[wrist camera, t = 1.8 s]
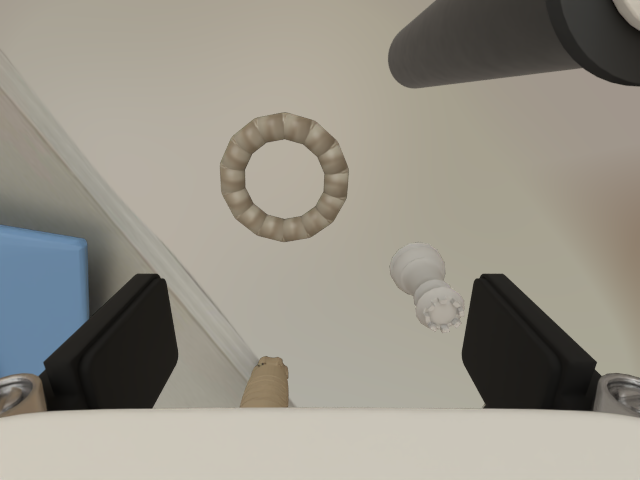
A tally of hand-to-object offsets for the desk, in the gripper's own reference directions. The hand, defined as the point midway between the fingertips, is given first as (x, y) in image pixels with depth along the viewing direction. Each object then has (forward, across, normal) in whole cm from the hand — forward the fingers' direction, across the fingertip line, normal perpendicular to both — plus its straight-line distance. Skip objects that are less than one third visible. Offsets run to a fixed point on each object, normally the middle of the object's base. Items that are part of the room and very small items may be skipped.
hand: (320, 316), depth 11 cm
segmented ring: (+18, +3, 0) cm, 18 cm away
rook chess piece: (+19, -8, +7) cm, 22 cm away
